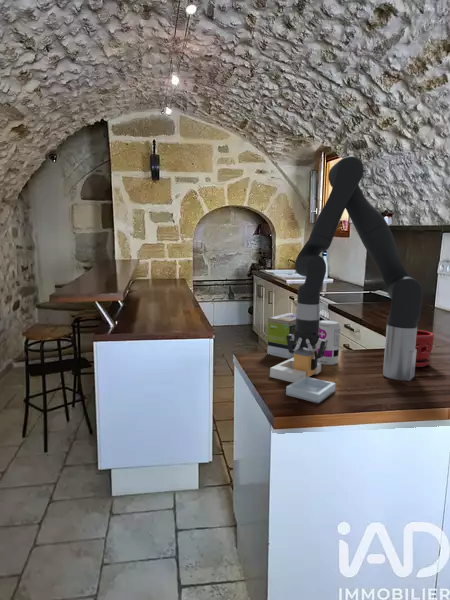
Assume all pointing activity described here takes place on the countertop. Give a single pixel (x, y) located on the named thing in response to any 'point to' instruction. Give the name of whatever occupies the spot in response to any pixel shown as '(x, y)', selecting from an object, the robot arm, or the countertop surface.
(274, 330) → the tea box
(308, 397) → the tray
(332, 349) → the supplement can
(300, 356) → the orange grey block
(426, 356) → the plant pot
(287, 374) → the bay
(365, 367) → the countertop surface
